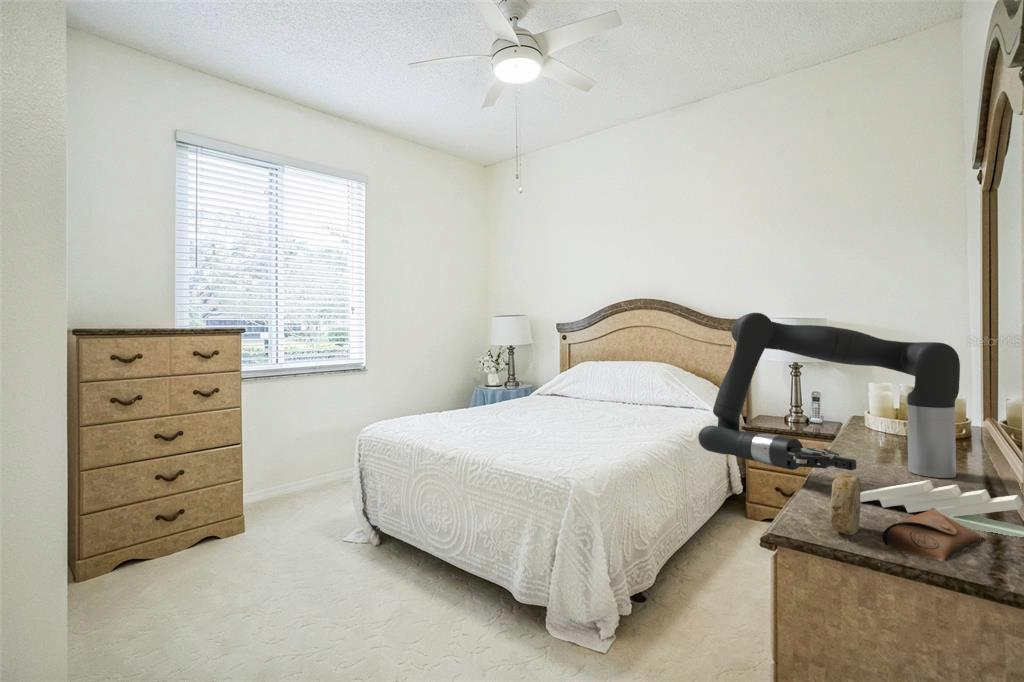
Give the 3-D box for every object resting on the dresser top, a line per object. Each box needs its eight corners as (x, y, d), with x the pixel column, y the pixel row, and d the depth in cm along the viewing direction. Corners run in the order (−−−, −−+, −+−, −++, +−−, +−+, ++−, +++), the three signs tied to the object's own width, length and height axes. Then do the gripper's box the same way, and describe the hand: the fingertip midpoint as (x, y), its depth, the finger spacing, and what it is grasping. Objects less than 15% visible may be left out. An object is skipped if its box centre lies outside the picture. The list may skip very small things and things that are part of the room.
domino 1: (855, 494, 104) (921, 483, 95) (865, 490, 107) (929, 479, 98) (859, 502, 103) (925, 492, 94) (868, 498, 106) (934, 488, 97)
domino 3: (903, 504, 97) (980, 493, 88) (911, 500, 100) (986, 489, 91) (907, 512, 96) (985, 502, 88) (915, 508, 99) (990, 498, 91)
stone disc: (840, 521, 93) (839, 468, 93) (864, 526, 90) (863, 471, 90) (826, 537, 85) (825, 479, 85) (852, 543, 83) (851, 483, 83)
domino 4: (931, 509, 93) (1014, 499, 85) (937, 505, 97) (1017, 494, 88) (935, 518, 93) (1019, 509, 84) (941, 513, 96) (1022, 503, 88)
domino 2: (879, 499, 100) (950, 488, 91) (887, 495, 103) (957, 484, 95) (882, 507, 100) (954, 497, 91) (891, 503, 103) (961, 492, 94)
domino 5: (948, 517, 91) (1042, 538, 81) (958, 512, 94) (1050, 532, 84) (948, 526, 91) (1042, 548, 81) (958, 520, 94) (1050, 541, 84)
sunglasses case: (946, 563, 75) (919, 518, 78) (899, 571, 80) (874, 529, 83) (987, 537, 84) (961, 498, 87) (942, 546, 89) (919, 509, 92)
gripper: (760, 438, 118) (839, 451, 103) (791, 432, 125) (869, 444, 110) (760, 469, 118) (839, 487, 103) (791, 462, 125) (869, 478, 110)
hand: (854, 465), depth 106 cm, fingers closed
